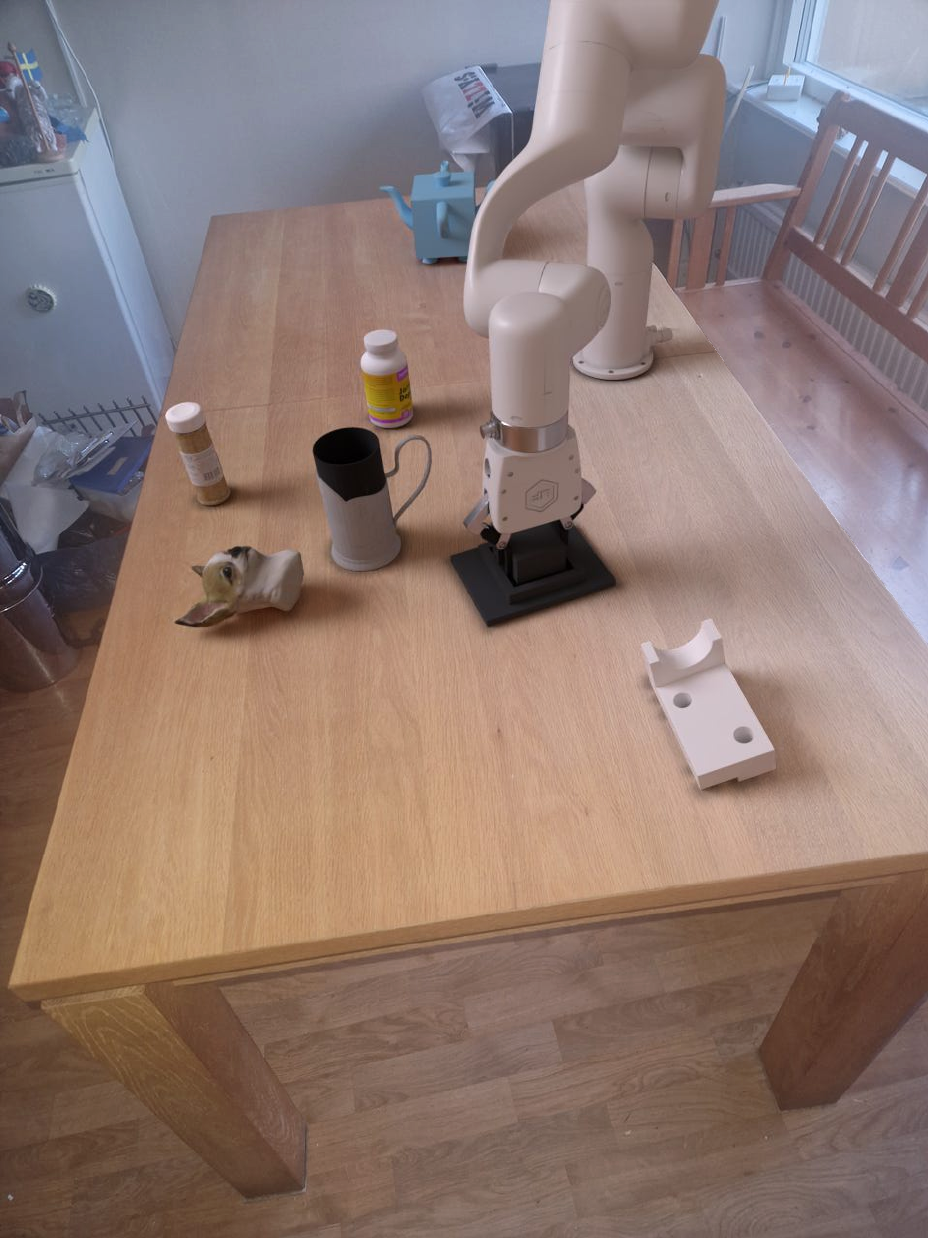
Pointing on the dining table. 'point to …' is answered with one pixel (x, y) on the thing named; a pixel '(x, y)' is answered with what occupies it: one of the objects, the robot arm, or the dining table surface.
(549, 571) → the black pad
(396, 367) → the supplement bottle
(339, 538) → the glass holder
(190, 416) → the sprinkles bottle
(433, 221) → the teakettle
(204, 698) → the dining table surface
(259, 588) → the ceramic sculpture
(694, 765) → the bracket
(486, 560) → the base pad
